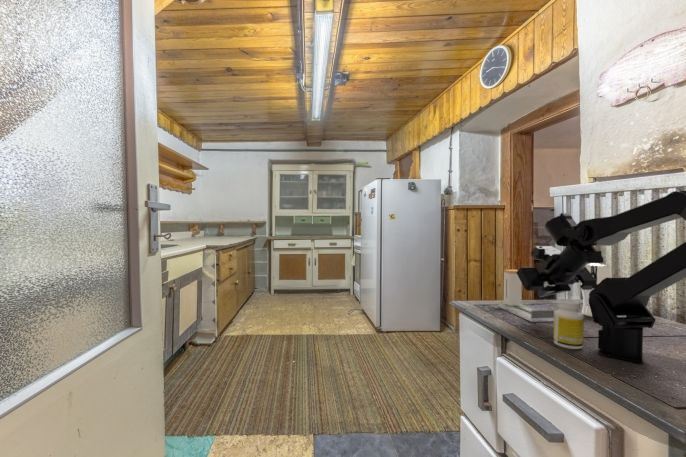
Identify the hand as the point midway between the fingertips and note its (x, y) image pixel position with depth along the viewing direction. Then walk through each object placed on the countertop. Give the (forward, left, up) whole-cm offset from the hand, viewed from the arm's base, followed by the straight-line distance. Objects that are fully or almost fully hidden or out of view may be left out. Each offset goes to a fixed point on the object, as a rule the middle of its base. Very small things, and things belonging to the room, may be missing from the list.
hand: (539, 295), depth 90 cm
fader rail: (+5, -4, -7) cm, 9 cm away
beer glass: (-11, -17, -7) cm, 21 cm away
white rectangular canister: (+9, -8, -5) cm, 13 cm away
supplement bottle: (-9, +17, -7) cm, 21 cm away
